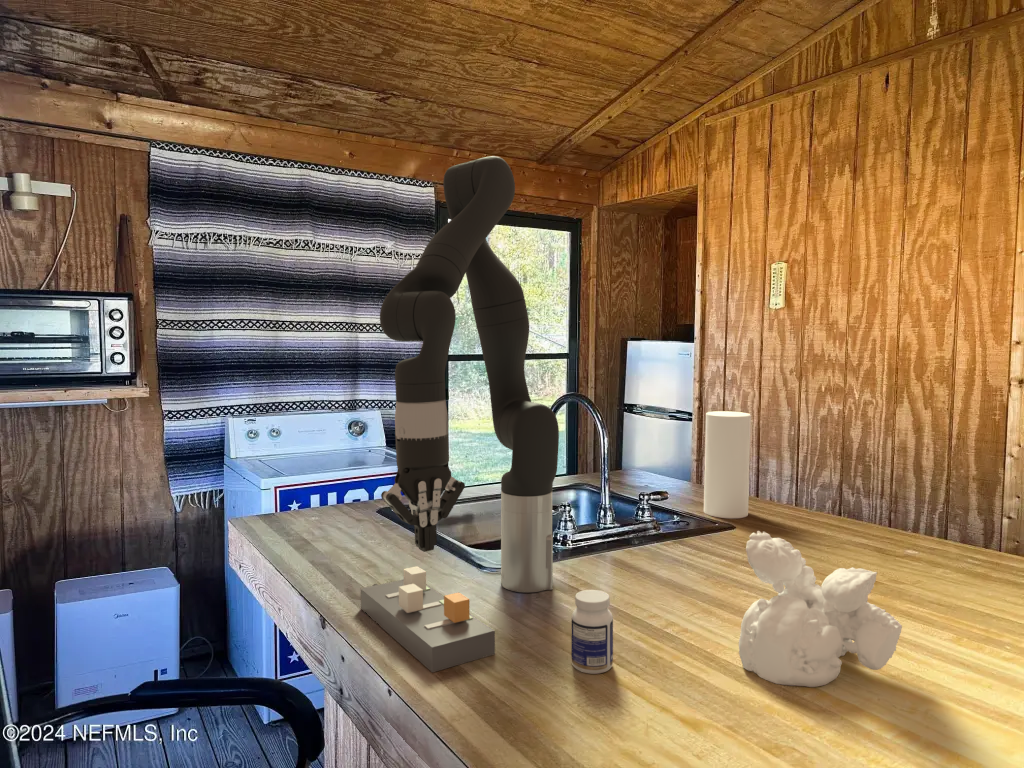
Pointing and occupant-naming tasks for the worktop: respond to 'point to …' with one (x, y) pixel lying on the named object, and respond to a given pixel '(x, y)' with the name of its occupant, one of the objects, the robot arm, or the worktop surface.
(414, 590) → the switch
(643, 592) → the worktop surface
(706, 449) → the tall pillar cylinder
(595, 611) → the pill bottle
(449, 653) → the slider control box
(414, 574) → the switch
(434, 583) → the worktop surface
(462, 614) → the switch
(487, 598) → the worktop surface
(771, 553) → the white plaster sculpture
